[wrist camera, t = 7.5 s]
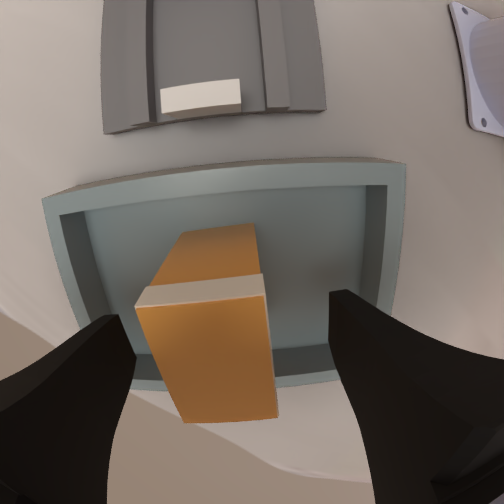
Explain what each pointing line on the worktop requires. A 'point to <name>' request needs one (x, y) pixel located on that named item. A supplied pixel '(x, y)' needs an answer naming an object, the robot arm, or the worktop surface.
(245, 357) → the block
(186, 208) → the slate tray
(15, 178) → the worktop surface
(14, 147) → the worktop surface
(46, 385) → the robot arm
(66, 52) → the worktop surface
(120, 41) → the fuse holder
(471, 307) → the worktop surface
